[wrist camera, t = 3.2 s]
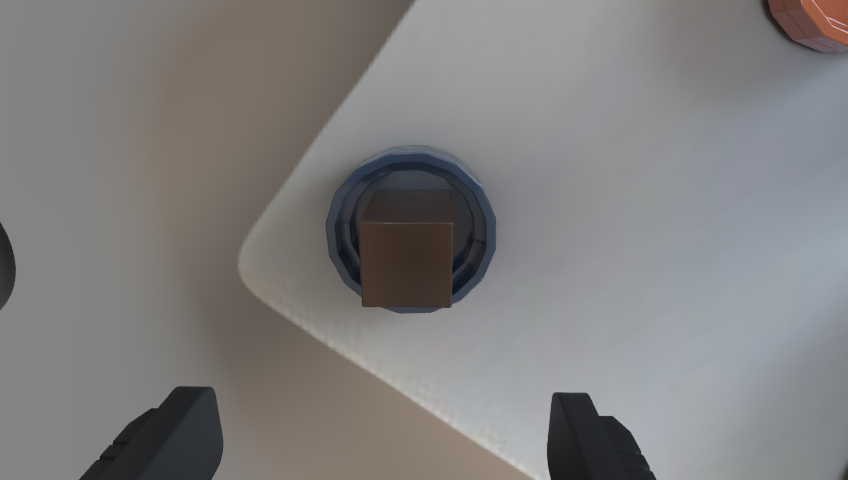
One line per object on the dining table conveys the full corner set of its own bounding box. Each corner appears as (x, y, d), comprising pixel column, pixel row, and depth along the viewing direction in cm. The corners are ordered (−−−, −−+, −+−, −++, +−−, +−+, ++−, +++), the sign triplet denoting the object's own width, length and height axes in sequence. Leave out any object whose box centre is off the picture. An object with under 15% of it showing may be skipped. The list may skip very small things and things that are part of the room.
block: (377, 258, 27) (361, 307, 21) (375, 189, 26) (357, 221, 20) (448, 259, 27) (451, 308, 21) (449, 189, 26) (453, 222, 20)
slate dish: (318, 264, 28) (307, 282, 25) (363, 121, 25) (355, 126, 23) (457, 311, 29) (459, 333, 26) (514, 177, 26) (522, 188, 23)
